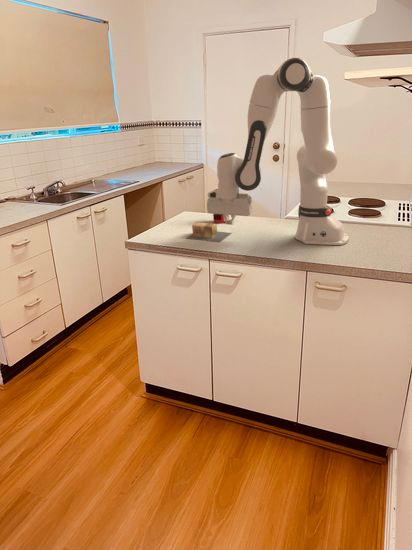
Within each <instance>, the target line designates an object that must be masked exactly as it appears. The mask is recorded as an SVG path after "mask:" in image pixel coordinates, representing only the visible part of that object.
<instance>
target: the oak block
mask: <svg viewBox="0 0 412 550" xmlns="http://www.w3.org/2000/svg"><path fill="white" fill-rule="evenodd" d="M191 230H192V234H193V236H199V237H208V238H213V237H215V236H216V235H217V231H218V225H217V223H208V222H207V223H206V222H198V221H197V222H196V223H194V224H192V225H191Z"/></svg>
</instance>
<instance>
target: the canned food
mask: <svg viewBox="0 0 412 550" xmlns="http://www.w3.org/2000/svg"><path fill="white" fill-rule="evenodd" d="M212 216H213V224H224V225H227V224H226V220H225V219H224V217H223V214H212ZM229 216H230V215H228V216H227V217H228V219H229ZM229 220H230V219H229Z"/></svg>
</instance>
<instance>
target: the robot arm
mask: <svg viewBox="0 0 412 550" xmlns="http://www.w3.org/2000/svg"><path fill="white" fill-rule="evenodd" d="M329 88H330V87H329V82H328V80H327V78H326V77H324V76H322V75H314V74H313V72H312V70H311V68H310V67H309V65H308V63H307V62H306V61H305V60H303V58H300V57H292V58H289V59H287V60H285V61H284V62H282V64H281V65H280V66H279V67H278V69H277V70H276V71H275V72H274V74H263V75H261V76H259V77H258V78H257V79H256V81H255V84H254V87H253V89H252V93H251V96H250V100H249V104H248V111H247V141H246V143H247V144H246V148H245V152H244V157H242V156H239V155H238V154H237V153H235V152H230V153H224V154H222V155H221V156H219V158H218V160H217V165H216V167H217V168H216V170H217V171H216V172H217V175H216V177H217V181H218V183H217V188H216V189H214V190H212V191H210V192H208V193H207V197H208V198H207V200H206V212H207V213H208V214H212V215H213V214H223V217H224V219H225V220H226V224H225V225H234V220H235V218H236V216H242V217H249V216H251V215H252V213H253V206H252V203H253V200H252V196H251V195H249V194H248V193H240V189H241V190H243V191H245V192H247V191H253V190H255V189H256V188H257V187H258V186H259V185H260V183H261V180H262V176H261V175H262V174H261V170H262V169H261V167H260V162H261V157H262V152H263V149H264V148H263V147H264V144H265V141H266V138H267V136H268V134H269V132H270V130H271V128H272V126H273V124H274V121H275V119H276V116H277V112H278V107H279V102H280V100H281V97H282V95H283V94H284V93H285V92H297V94H298V95H299V100H300V130H301V133H302V137H303V142H304V145H302V146H301V147H299V149H298V150H297V153H296V160H297V165H298V175H299V182H300V183H299V184H300V195H299V196H300V197H299V198H300V199H299V205H298V209H297V210H298V211H297V212H298V213H297V215H298V223H297V229H296V231H295V235H294V238H295V239H296V240H298V241H300V242H302V243H303V244H306V245H327V246H343V245H345V244H346V243H348V242H349V239H350V237H349V234H347V233H345V231H344V225H343V223H342V222H341V221H340V220H338V219H337V218H336V217H335V216H334V215H332V207H333V206H329V205H328V194H329V193H328V192H329V186H328V182H327V177H326V175H328V174H330V173H332V172H333V171H334V170H335V169H336V167H337V165H338V156H337V154H336V152H335V147H334V142H333V141H334V140H333V135H332V130H331V99H330V98H331V97H330V90H329ZM228 215H229V216H230V218H231V219H228V217H227V216H228Z"/></svg>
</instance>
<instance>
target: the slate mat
mask: <svg viewBox="0 0 412 550" xmlns="http://www.w3.org/2000/svg"><path fill="white" fill-rule="evenodd" d="M232 234H233V232H226V231H218V230H217V235H216V236H215V237H213V238H208V237H199V236H193V233H192V234H191V235H189V236H187V237H186V238H185V239H186V240H196V241H204V242H211V243H212V242H213V243H221V242H222V241H224V240H225V239H226V238H228V237H229V236H230V235H232Z"/></svg>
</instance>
